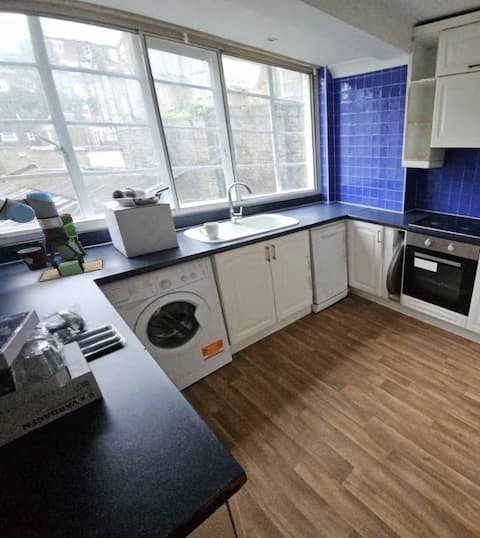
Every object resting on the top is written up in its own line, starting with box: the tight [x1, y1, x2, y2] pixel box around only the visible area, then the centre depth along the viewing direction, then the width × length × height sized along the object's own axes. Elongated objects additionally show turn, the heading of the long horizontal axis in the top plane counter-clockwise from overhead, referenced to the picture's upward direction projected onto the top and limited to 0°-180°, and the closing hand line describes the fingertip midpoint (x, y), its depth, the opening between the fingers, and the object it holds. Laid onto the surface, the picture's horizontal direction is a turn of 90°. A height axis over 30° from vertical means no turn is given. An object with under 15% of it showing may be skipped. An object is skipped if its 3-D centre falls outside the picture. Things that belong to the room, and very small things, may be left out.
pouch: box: [56, 212, 86, 261], centre depth 161 cm, size 11×12×25 cm
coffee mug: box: [17, 246, 51, 271], centre depth 151 cm, size 12×9×10 cm
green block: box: [58, 259, 84, 279], centre depth 144 cm, size 7×7×6 cm
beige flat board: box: [39, 259, 103, 283], centre depth 147 cm, size 22×16×1 cm
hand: (72, 272), depth 144 cm, fingers open, 8 cm apart
